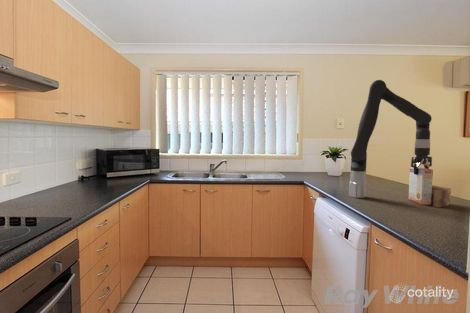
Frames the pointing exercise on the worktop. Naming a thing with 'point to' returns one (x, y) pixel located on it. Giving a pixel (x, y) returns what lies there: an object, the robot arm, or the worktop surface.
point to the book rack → (440, 196)
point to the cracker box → (420, 186)
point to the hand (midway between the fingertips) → (421, 174)
